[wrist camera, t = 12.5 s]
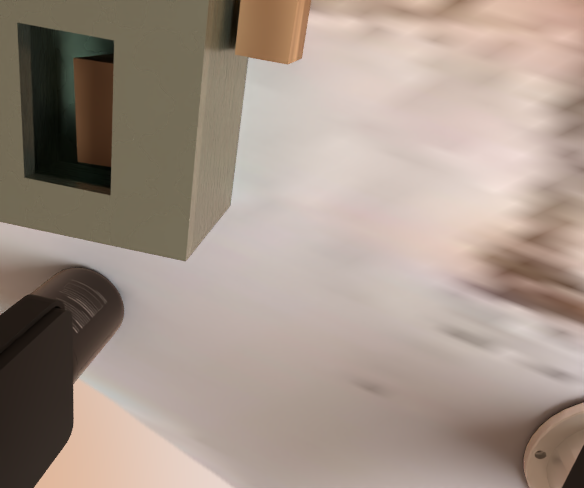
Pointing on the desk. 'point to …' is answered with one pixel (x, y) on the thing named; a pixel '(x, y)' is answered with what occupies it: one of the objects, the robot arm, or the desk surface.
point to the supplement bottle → (86, 311)
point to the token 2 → (272, 29)
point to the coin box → (122, 120)
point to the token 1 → (94, 108)
